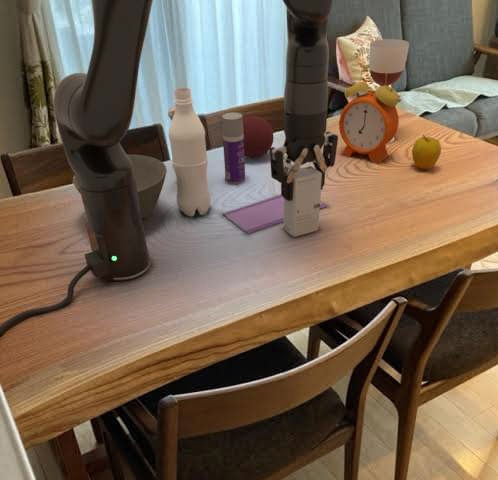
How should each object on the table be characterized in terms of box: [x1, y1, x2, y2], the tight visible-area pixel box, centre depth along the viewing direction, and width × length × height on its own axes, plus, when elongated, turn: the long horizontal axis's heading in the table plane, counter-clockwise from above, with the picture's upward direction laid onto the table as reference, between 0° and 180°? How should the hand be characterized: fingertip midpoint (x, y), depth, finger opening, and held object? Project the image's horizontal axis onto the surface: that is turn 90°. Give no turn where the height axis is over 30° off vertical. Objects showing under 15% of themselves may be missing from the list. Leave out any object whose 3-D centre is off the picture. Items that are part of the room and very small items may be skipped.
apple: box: [411, 134, 442, 170], centre depth 127 cm, size 6×6×8 cm
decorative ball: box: [242, 115, 274, 159], centre depth 134 cm, size 10×10×10 cm
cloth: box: [222, 194, 328, 235], centre depth 115 cm, size 20×10×1 cm, turn 122°
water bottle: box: [168, 86, 212, 217], centre depth 108 cm, size 7×7×25 cm
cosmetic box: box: [283, 165, 322, 238], centre depth 105 cm, size 6×4×12 cm
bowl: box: [72, 154, 167, 219], centre depth 112 cm, size 19×19×10 cm
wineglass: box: [368, 38, 410, 144], centre depth 138 cm, size 9×10×23 cm
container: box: [221, 112, 246, 185], centre depth 122 cm, size 5×5×15 cm
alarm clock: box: [338, 68, 400, 164], centre depth 130 cm, size 13×6×20 cm, turn 53°
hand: (302, 193), depth 104 cm, fingers open, 6 cm apart
